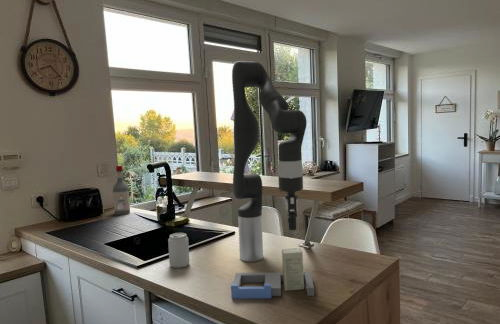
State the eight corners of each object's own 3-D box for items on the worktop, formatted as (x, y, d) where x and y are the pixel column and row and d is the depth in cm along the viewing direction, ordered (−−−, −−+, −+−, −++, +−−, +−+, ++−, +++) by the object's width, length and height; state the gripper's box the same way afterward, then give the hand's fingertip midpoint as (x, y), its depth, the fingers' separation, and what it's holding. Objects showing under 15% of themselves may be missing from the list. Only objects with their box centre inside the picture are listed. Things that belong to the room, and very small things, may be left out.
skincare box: (302, 284, 121) (301, 247, 120) (304, 289, 117) (303, 252, 116) (282, 285, 121) (281, 248, 120) (284, 290, 117) (283, 253, 115)
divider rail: (236, 280, 126) (235, 268, 126) (310, 279, 125) (310, 267, 124) (231, 298, 113) (231, 285, 112) (314, 298, 111) (314, 285, 111)
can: (167, 263, 144) (166, 233, 142) (187, 260, 146) (185, 230, 145) (171, 270, 137) (169, 238, 136) (191, 266, 140) (190, 235, 138)
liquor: (130, 214, 230) (126, 166, 227) (114, 215, 227) (110, 167, 224) (130, 211, 239) (126, 164, 236) (114, 212, 236) (111, 165, 233)
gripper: (278, 172, 123) (279, 220, 124) (278, 178, 109) (280, 232, 110) (301, 171, 122) (302, 220, 124) (304, 177, 108) (305, 232, 110)
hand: (291, 226), depth 117 cm, fingers open, 8 cm apart
